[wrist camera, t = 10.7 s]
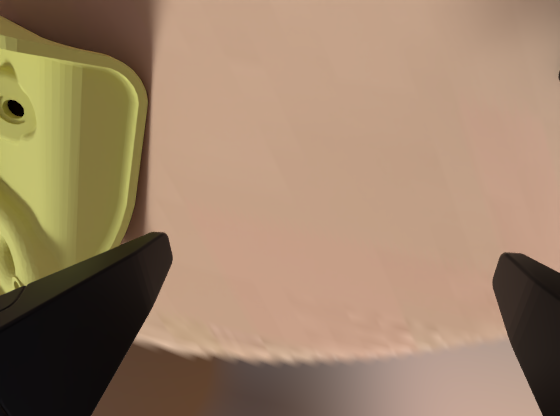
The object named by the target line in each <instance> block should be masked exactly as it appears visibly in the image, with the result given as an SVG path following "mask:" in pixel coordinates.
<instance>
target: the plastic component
mask: <svg viewBox="0 0 560 416" xmlns="http://www.w3.org/2000/svg"><path fill="white" fill-rule="evenodd" d="M9 100H15V101H17V102H18V103H20V104H21V105H22V107H23V108H24V115H23V117H21V116H16V115H14V114H13V113H12V112H11V111H10V110H9V108H8V106H7V104H8V101H9ZM147 106H148V99H147V94H146V90H145V88H144V85H143V83H142V81H141V79H140V78H139V77H138V76H137V74H136V73H135V72H134V71H133V70H132V69H131V68H130V67H128V66H127V65H126V64H124V63H123V62H121V61H119V60H117V59H115V58H113V57H111V56H109V55H106V54H103V53H98V52H93V51H88V50H83V49H78V48H74V47H71V46H67V45H63V44H60V43H56V42H53V41H50V40H47V39H45V38H42V37H40V36H38V35H36V34H34V33H32V32H30V31H29V30H27V29H25V28H23V27H21V26H19V25H17V24H15V23H13V22H11V21H10V20H8V19H6V18H4V17H2V16H0V295H2V294H5V293H7V292H10V291H12V290H14V289H17V288H19V287H22V286H27V284H29V283H31V282H34V281H36V280H38V279H41V278H43V277H46V276H48V275H50V274H53V273H55V272H58V271H60V270H62V269H65V268H67V267H69V266H72V265H74V264H77V263H79V262H81V261H84V260H86V259H89V258H91V257H93V256H96V255H98V254H101V253H103V252H105V251H108V250H110V249H113V248H115V247H117V246H119V245H120V243H121V241H122V239H123V237H124V235H125V233H126V231H127V228H128V225H129V223H130V220H131V216H132V213H133V209H134V206H135V200H136V192H137V184H138V176H139V169H140V161H141V153H142V145H143V137H144V129H145V122H146V114H147Z"/></svg>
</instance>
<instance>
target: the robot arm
mask: <svg viewBox="0 0 560 416" xmlns="http://www.w3.org/2000/svg"><path fill="white" fill-rule="evenodd" d="M559 80H560V72H559ZM172 260H173V256H172V251H171V247H170V243H169V238H168V236H167V234H166V233H163V232H151V233H148V234H146V235H144V236H141V237H139V238H136V239H134V240H132V241H129V242H127V243H124V244H122V245H120V246H117V247H115V248H113V249H110V250H108V251H105V252H103V253H101V254H98V255H96V256H93V257H91V258H89V259H86V260H84V261H81V262H79V263H77V264H74V265H72V266H69V267H67V268H65V269H62V270H60V271H58V272H55V273H53V274H50V275H48V276H46V277H43V278H41V279H38V280H36V281H34V282H31V283H29V284H27V286H22V287H19V288H17V289H14V290H12V291H10V292H7V293H5V294H2V295H0V416H91V415H92V413H93V411H94V410H95V408H96V406H97V404H98V402H99V401H100V399H101V397H102V395H103V394H104V392H105V390H106V388H107V386H108V385H109V383H110V381H111V380H112V378H113V376H114V374H115V373H116V371H117V369H118V367H119V366H120V364H121V362H122V360H123V358H124V357H125V355H126V353H127V352H128V350H129V348H130V346H131V344H132V343H133V341H134V339H135V337H136V336H137V334H138V332H139V330H140V329H141V327H142V325H143V323H144V322H145V320H146V318H147V316H148V315H149V313H150V311H151V309H152V307H153V305H154V303H155V301H156V299H157V296H158V294H159V292H160V290H161V287H162V285H163V283H164V280H165V278H166V276H167V273H168V271H169V269H170V267H171V264H172ZM492 283H493V290H494V293H495V296H496V299H497V302H498V306H499V309H500V312H501V315H502V318H503V321H504V325H505V328H506V331H507V334H508V337H509V340H510V343H511V345H512V348H513V350H514V352H515V355H516V357H517V359H518V361H519V363H520V366H521V368H522V370H523V372H524V375H525V377H526V379H527V381H528V384H529V386H530V388H531V390H532V393H533V395H534V397H535V399H536V401H537V403H538V406H539V408H540V410H541V412H542V415H543V416H560V273H559V272H557V271H555V270H553V269H551V268H549V267H547V266H545V265H543V264H541V263H539V262H537V261H536V260H534V259H532V258H530V257H528V256H526V255H524V254H521V253H503V254H501V256H500V258H499V261H498V264H497V267H496V270H495V273H494V277H493V282H492Z"/></svg>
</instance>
